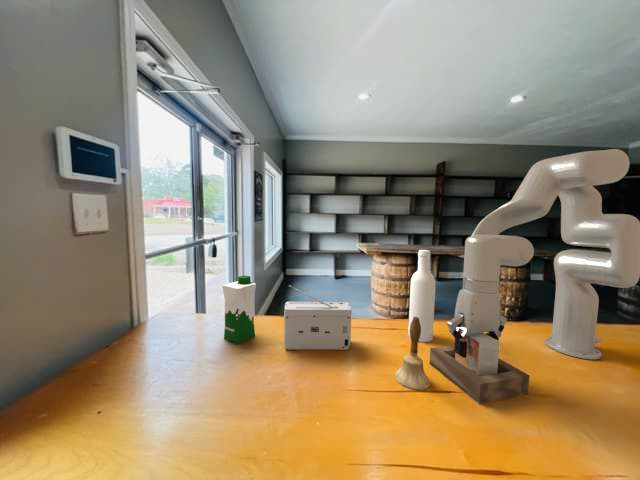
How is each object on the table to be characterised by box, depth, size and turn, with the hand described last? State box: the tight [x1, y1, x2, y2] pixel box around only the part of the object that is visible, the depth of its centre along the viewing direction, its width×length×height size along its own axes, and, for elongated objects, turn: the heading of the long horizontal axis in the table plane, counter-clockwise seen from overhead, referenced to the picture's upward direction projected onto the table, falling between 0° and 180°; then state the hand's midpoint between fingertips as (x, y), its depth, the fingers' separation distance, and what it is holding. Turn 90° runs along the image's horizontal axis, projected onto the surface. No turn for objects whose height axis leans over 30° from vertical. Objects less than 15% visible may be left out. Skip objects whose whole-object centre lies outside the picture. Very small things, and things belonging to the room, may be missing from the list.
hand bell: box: [394, 317, 431, 391], centre depth 63 cm, size 8×8×16 cm
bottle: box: [407, 249, 436, 343], centre depth 86 cm, size 8×8×30 cm
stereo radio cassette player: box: [283, 284, 352, 351], centre depth 79 cm, size 21×8×20 cm, turn 92°
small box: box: [455, 331, 501, 376], centre depth 64 cm, size 8×6×10 cm
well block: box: [429, 344, 530, 405], centre depth 64 cm, size 14×16×4 cm
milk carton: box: [222, 275, 257, 345], centre depth 83 cm, size 9×9×20 cm
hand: (475, 352), depth 64 cm, fingers open, 9 cm apart
